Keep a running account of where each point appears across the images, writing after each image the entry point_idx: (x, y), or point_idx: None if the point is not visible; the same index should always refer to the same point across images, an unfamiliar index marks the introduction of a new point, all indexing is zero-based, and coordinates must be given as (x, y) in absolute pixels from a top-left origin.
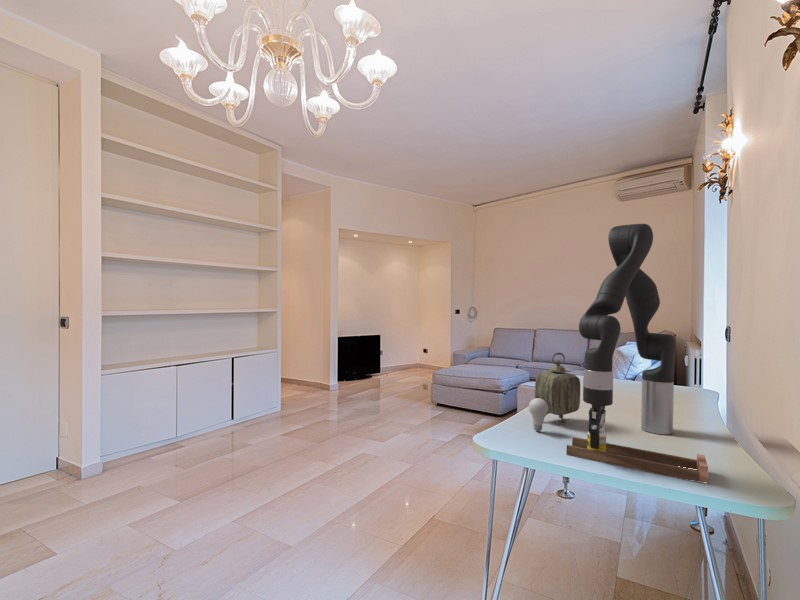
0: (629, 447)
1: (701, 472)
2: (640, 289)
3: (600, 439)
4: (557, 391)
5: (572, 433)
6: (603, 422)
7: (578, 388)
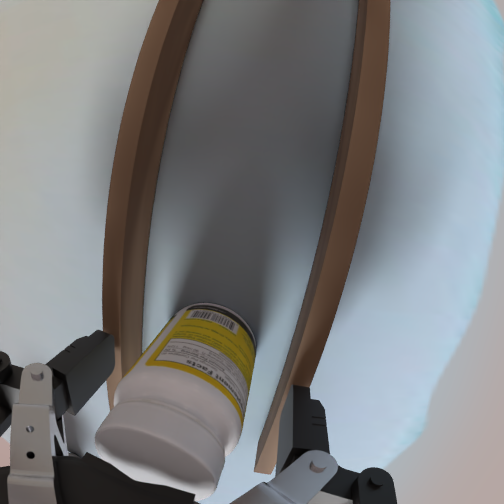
0: (115, 171)
1: None
2: None
3: (240, 401)
4: None
5: (14, 363)
6: (52, 411)
7: None
